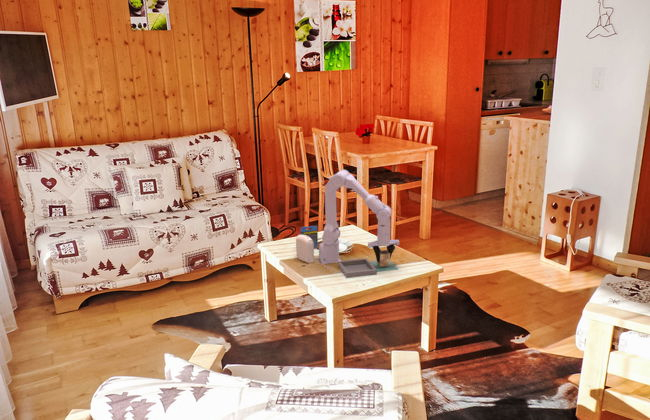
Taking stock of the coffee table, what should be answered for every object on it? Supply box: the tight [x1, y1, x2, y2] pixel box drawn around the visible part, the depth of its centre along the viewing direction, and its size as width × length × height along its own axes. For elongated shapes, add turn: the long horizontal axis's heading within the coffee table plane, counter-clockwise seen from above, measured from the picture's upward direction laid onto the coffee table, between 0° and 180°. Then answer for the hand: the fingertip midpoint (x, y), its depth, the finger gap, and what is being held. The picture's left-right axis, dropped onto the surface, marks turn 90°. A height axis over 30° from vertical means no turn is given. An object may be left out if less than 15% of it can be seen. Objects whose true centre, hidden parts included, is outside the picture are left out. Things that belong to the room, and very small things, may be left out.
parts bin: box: [337, 258, 378, 279], centre depth 233 cm, size 14×14×2 cm
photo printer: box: [295, 234, 315, 264], centre depth 245 cm, size 10×4×12 cm, turn 39°
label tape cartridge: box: [298, 225, 319, 249], centre depth 260 cm, size 9×4×12 cm, turn 107°
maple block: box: [376, 249, 391, 267], centre depth 236 cm, size 4×4×6 cm
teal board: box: [369, 260, 399, 273], centre depth 237 cm, size 11×11×1 cm
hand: (383, 260), depth 237 cm, fingers closed on maple block, 4 cm apart
